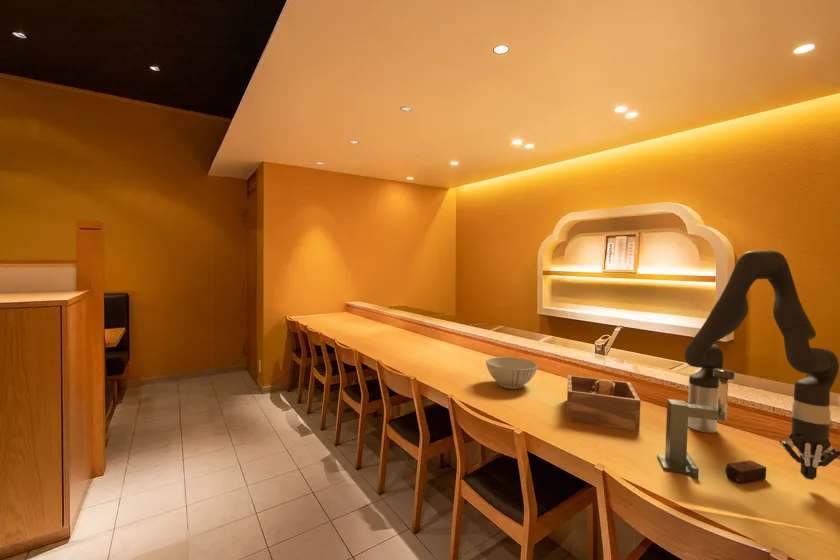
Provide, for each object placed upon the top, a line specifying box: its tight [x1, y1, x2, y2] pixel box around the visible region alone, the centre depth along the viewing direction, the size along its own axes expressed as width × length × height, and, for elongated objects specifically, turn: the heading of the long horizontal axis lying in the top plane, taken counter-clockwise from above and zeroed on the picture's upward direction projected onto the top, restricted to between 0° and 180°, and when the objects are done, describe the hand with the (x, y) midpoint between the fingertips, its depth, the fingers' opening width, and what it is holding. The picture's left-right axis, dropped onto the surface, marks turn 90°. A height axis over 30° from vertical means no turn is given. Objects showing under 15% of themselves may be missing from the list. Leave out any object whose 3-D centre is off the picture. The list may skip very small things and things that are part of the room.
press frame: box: [656, 398, 719, 480], centre depth 117 cm, size 12×14×20 cm
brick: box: [725, 459, 767, 484], centre depth 112 cm, size 11×4×5 cm
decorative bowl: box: [485, 356, 539, 390], centre depth 199 cm, size 27×27×12 cm
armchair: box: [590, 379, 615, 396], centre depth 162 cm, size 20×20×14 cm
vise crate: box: [566, 374, 641, 432], centre depth 161 cm, size 26×26×12 cm
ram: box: [713, 368, 736, 422], centre depth 114 cm, size 5×5×15 cm
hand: (808, 477), depth 107 cm, fingers closed
